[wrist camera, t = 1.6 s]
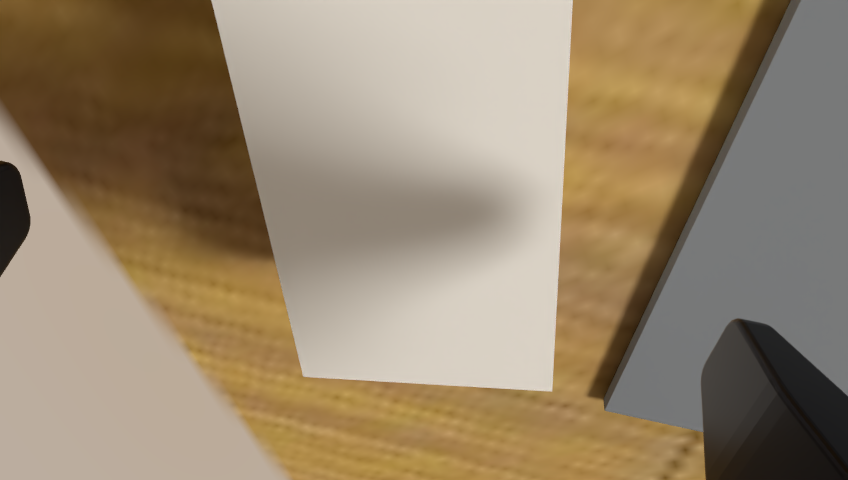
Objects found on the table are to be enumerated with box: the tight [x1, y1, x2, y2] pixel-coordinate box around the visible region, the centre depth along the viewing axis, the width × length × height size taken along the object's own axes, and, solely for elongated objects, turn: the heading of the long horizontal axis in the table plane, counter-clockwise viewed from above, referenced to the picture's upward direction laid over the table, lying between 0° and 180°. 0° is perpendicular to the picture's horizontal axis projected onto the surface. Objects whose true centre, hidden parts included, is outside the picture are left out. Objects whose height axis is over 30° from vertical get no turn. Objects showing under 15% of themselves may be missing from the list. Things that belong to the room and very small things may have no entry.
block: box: [211, 0, 573, 391], centre depth 12 cm, size 10×5×4 cm, turn 4°
